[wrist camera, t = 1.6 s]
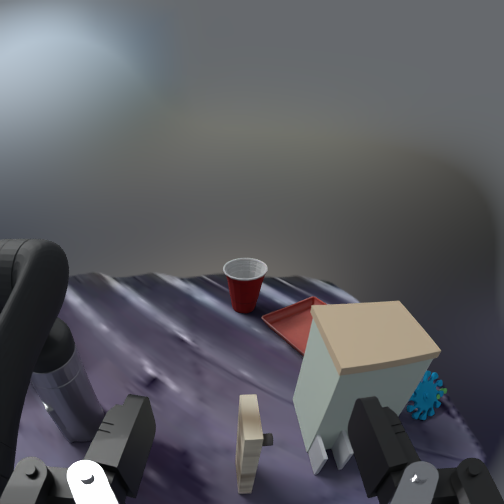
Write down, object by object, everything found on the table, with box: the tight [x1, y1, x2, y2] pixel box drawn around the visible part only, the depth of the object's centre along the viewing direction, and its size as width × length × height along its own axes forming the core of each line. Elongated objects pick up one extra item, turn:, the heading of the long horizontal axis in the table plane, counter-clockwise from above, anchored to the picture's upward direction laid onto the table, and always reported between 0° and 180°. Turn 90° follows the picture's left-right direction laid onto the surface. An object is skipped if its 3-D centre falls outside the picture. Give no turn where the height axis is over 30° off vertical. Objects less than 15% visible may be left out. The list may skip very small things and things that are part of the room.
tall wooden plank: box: [235, 395, 273, 494], centre depth 31 cm, size 6×3×18 cm, turn 6°
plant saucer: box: [262, 297, 327, 356], centre depth 68 cm, size 18×18×3 cm
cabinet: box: [293, 301, 441, 475], centre depth 39 cm, size 17×15×21 cm
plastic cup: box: [223, 258, 267, 313], centre depth 74 cm, size 11×11×12 cm
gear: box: [407, 371, 447, 420], centre depth 46 cm, size 11×6×10 cm
